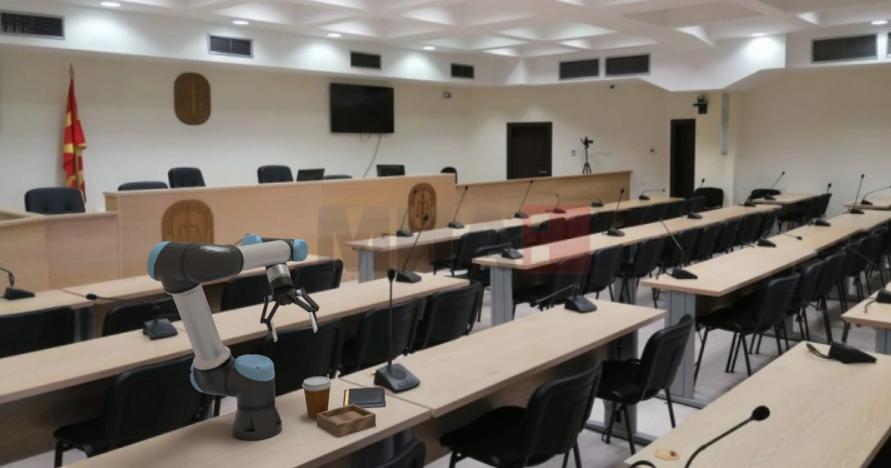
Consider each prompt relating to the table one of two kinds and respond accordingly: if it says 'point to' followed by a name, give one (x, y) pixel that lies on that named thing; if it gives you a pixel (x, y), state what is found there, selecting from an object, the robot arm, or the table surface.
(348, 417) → the tray
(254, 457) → the table surface
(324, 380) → the disposable coffee cup
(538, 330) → the table surface
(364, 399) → the wallet
